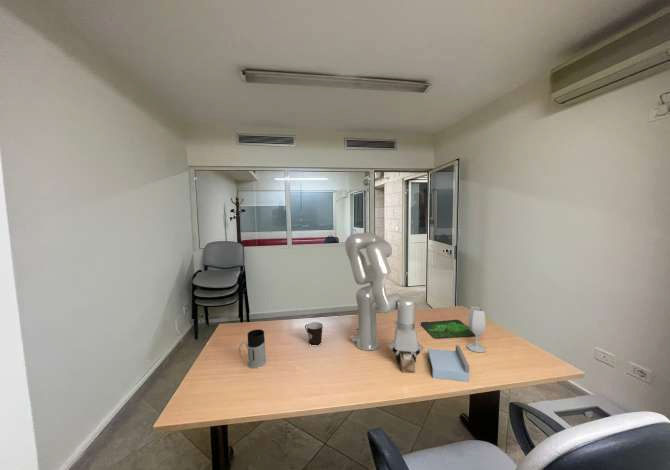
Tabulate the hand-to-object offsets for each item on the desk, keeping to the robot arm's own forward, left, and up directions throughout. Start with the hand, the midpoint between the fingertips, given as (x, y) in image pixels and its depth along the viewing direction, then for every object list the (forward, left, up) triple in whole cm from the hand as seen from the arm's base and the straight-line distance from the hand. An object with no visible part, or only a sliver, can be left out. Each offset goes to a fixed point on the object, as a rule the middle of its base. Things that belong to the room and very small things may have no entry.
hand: (405, 362), depth 122 cm
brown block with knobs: (0, 0, -1) cm, 1 cm away
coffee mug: (-48, +13, -1) cm, 50 cm away
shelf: (+18, +1, -1) cm, 18 cm away
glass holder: (-70, -14, -1) cm, 72 cm away
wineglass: (+36, +21, -1) cm, 42 cm away
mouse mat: (+26, +42, -2) cm, 49 cm away
